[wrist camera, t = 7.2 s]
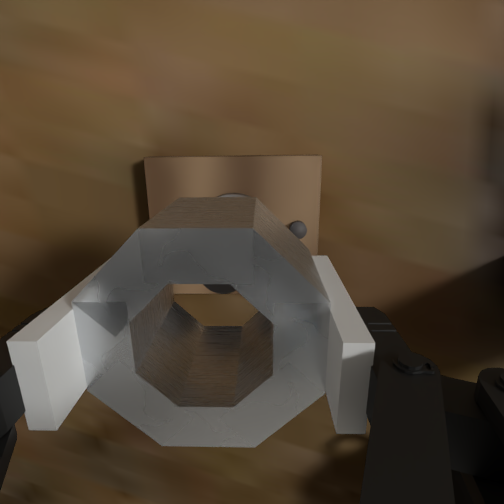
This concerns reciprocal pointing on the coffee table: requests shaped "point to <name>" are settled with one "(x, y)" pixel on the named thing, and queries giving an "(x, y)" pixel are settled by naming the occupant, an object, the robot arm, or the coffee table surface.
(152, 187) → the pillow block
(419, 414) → the robot arm
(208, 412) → the ring
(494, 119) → the coffee table surface
